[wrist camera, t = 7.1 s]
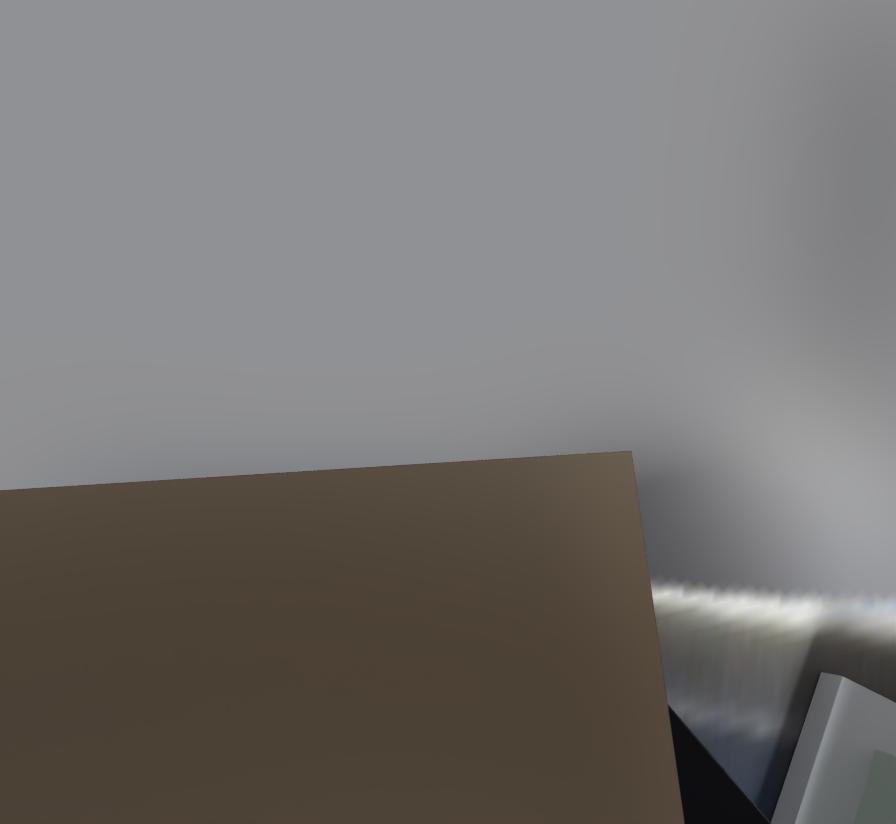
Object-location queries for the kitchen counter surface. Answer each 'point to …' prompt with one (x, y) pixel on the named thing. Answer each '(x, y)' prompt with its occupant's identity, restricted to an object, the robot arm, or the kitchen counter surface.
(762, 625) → the kitchen counter surface
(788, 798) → the caddy
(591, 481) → the brown box
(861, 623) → the kitchen counter surface
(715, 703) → the kitchen counter surface
